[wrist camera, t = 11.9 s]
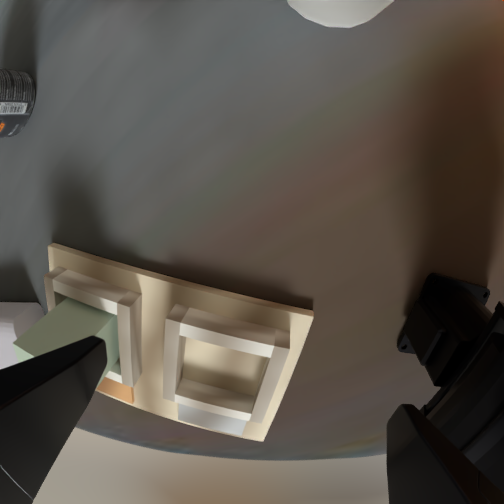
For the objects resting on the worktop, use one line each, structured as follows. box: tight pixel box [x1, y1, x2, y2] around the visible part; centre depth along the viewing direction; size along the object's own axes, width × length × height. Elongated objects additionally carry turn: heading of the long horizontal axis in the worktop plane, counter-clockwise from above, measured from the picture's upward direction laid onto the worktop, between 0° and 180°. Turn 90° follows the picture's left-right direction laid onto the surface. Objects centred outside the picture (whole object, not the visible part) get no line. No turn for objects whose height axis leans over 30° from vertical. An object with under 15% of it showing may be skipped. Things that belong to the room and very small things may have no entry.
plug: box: [13, 297, 120, 390], centre depth 18 cm, size 4×4×8 cm
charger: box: [0, 302, 45, 369], centre depth 24 cm, size 5×9×15 cm
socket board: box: [44, 243, 314, 442], centre depth 22 cm, size 21×15×3 cm
